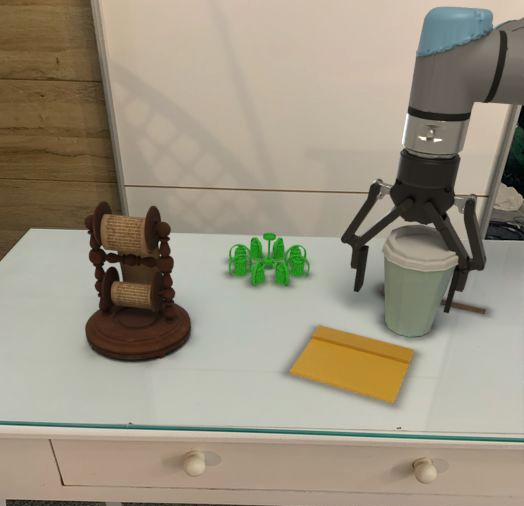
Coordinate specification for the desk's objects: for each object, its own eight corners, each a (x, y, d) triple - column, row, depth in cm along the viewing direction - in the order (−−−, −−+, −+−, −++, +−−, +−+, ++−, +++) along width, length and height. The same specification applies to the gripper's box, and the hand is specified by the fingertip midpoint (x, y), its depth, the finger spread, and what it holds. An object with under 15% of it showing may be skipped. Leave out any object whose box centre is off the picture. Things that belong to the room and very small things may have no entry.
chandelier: (295, 299, 91) (298, 260, 87) (212, 281, 95) (211, 244, 91) (319, 262, 103) (323, 227, 99) (244, 248, 107) (245, 213, 103)
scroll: (202, 317, 86) (197, 190, 74) (174, 374, 74) (163, 233, 62) (111, 307, 88) (93, 181, 76) (69, 360, 76) (40, 221, 64)
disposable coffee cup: (456, 340, 83) (481, 248, 74) (395, 356, 79) (414, 261, 70) (413, 305, 90) (432, 218, 82) (356, 318, 87) (369, 228, 78)
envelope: (412, 357, 79) (414, 347, 78) (392, 407, 70) (395, 396, 68) (319, 333, 83) (320, 323, 82) (289, 377, 74) (290, 366, 73)
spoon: (486, 307, 91) (488, 300, 90) (482, 324, 87) (484, 318, 86) (384, 284, 97) (385, 278, 96) (375, 299, 92) (376, 293, 91)
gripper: (328, 143, 71) (314, 290, 83) (534, 173, 63) (485, 330, 75) (346, 131, 77) (330, 270, 89) (536, 157, 69) (491, 306, 81)
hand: (401, 298), depth 82 cm, fingers open, 13 cm apart
